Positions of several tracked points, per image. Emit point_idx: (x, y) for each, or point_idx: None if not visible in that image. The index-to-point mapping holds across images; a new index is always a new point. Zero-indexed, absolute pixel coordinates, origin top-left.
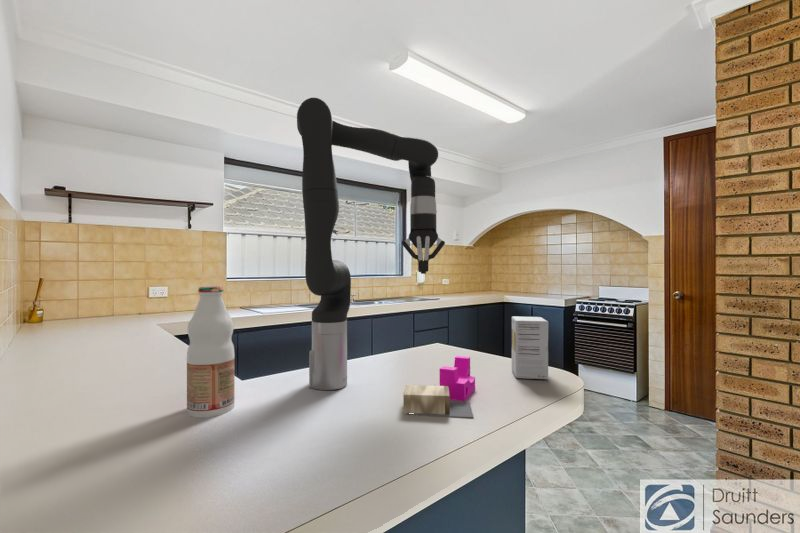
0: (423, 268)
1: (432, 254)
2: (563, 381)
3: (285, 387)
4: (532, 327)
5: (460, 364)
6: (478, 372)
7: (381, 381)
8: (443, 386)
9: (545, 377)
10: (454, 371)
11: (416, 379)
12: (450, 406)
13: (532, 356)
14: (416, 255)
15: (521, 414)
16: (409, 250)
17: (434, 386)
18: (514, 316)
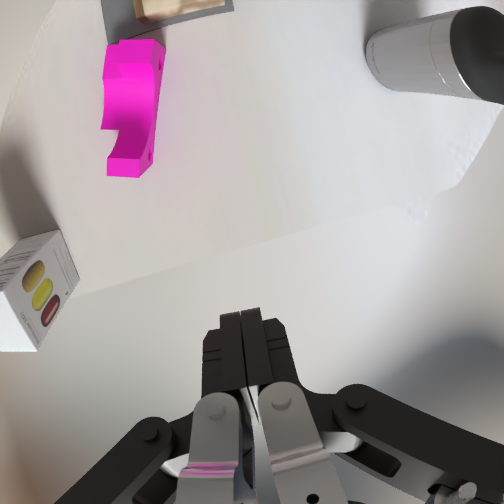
0: (239, 333)
1: (149, 449)
2: (3, 235)
3: None
4: None
5: (129, 151)
6: (128, 245)
7: (313, 119)
8: (145, 11)
9: (21, 239)
10: (120, 41)
11: (242, 152)
12: None
13: (18, 253)
14: (332, 426)
15: (36, 42)
16: (428, 437)
17: (163, 4)
18: (32, 350)
